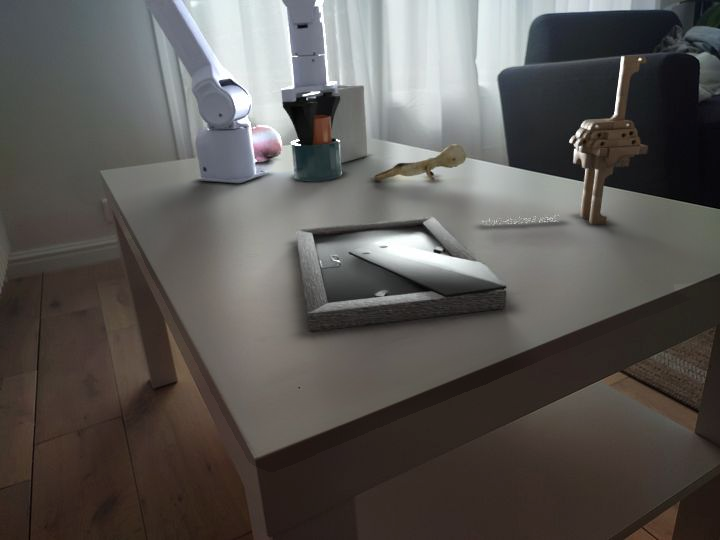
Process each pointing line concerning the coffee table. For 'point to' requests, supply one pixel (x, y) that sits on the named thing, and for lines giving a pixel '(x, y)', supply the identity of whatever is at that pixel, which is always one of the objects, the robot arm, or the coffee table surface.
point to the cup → (322, 129)
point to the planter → (350, 122)
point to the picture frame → (390, 274)
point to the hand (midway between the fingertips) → (315, 141)
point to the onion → (265, 143)
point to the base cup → (317, 161)
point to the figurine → (427, 164)
